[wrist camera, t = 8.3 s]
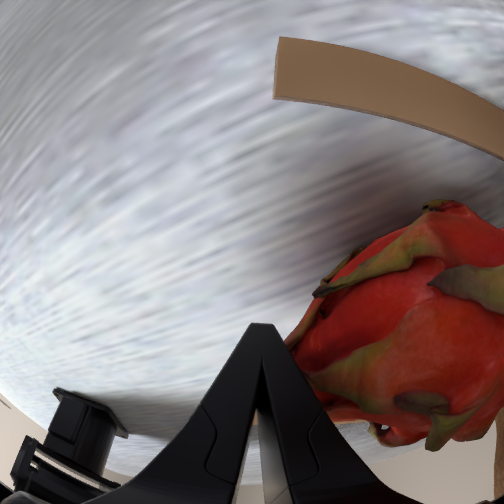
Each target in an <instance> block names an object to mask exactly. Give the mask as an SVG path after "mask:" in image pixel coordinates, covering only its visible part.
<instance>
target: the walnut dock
mask: <svg viewBox="0 0 504 504" xmlns="http://www.w3.org/2000/svg"><path fill="white" fill-rule="evenodd" d="M273 99H277V100H288V101H297V102H305V103H312V104H319V105H325V106H331V107H337V108H343V109H348V110H353V111H358V112H363V113H367V114H372V115H376V116H380V117H384V118H388V119H392V120H396V121H399V122H403V123H406V124H410V125H413V126H417V127H420V128H423V129H426V130H429V131H432V132H435V133H438V134H441V135H444V136H446V137H449V138H452V139H455V140H457V141H460V142H462V143H465V144H467V145H470V146H472V147H474V148H477V149H479V150H481V151H484V152H486V153H488V154H490V155H492V156H495V157H497V158H499V159H501V160H503V161H504V111H503V110H501V109H500V108H498V107H497V106H495V105H493V104H492V103H490V102H488V101H486V100H485V99H483V98H481V97H479V96H478V95H476V94H474V93H472V92H470V91H468V90H466V89H464V88H462V87H460V86H458V85H456V84H454V83H452V82H450V81H447V80H445V79H443V78H441V77H438V76H436V75H434V74H431V73H429V72H426V71H424V70H421V69H419V68H416V67H413V66H411V65H408V64H405V63H402V62H399V61H396V60H393V59H390V58H387V57H383V56H380V55H376V54H373V53H369V52H365V51H361V50H357V49H353V48H349V47H344V46H340V45H335V44H329V43H324V42H318V41H312V40H305V39H297V38H289V37H279V42H278V47H277V52H276V61H275V75H274V88H273ZM359 422H368V421H366V420H360V419H358V420H355V421H342V422H333V423H334V425H337V424H349V423H359ZM253 425H258V422H257V411H256V412H255V417H254V422H253Z"/></svg>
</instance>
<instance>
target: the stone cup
mask: <svg viewBox="0 0 504 504" xmlns="http://www.w3.org/2000/svg"><path fill="white" fill-rule="evenodd" d="M495 421H496V428H497V442H496V453H495V463H494V498H495V499H496V498H498V497H499V496H501V495H503V494H504V408H502V409H501V410H500V411H499V412H498V414H497V415H496V417H495Z"/></svg>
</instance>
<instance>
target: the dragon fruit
mask: <svg viewBox="0 0 504 504" xmlns="http://www.w3.org/2000/svg"><path fill="white" fill-rule="evenodd" d="M422 209H423V210H422V215H421V216H420V217H419V218H418V219H417V220H416V221H414V222H413V223H412V224H411V225H409V226H407V227H404V228H402V229H399V230H396V231H394V232H391V233H389V234H387V235H385V236H383V237H382V238H377V239H375V240H374V241H373V242H372V243H371V244H369V245H368V246H367V247H366V248H364V249H363V248H362V247H358V248H357V249H355V250H354V251H353V252H352V253H351V254H350V255H349V257H347V258H346V259H345V260H344V261H342V262H341V263H340V264H339V265H338V266H337V267H336V268H335V269H334V270H333V272H332V273H330V274H329V275H328V276H327V277H325V278H323V279H322V280H321V286H319V287H318V288H317V289H316V290H315V291H314V292H313V293H312V296H313V297H314V300H313V301H312V303H311V304H310V306H309V308H308V310H307V312H306V313H305V315H304V317H303V318H302V320H301V321H300V323H299V324H298V326H297V327H296V328H295V329H294V330H293V331H292V332H291V333H290V334H289V335H288V337H287V338H286V339H285V340H284V343H285V344H286V346H287V348H288V350H289V351H290V353H291V355H292V356H293V358H294V360H295V361H296V363H297V365H298V366H299V368H300V370H301V371H302V373H303V375H304V376H305V378H306V380H307V381H308V383H309V384H310V386H311V388H312V389H313V391H314V393H315V394H316V396H317V398H318V399H319V401H320V403H321V404H322V406H323V410H326V412H327V414H328V415H329V417H330V419H331V420H332V422H342V421H355V420H358V419H360V420H366V421H368V422H369V423H370V427H369V429H368V432H369V433H370V434H371V435H372V436H373V437H374V438H375V439H377V440H378V442H379V443H380V444H381V445H383V446H386V447H398V446H405V445H410V444H413V443H416V442H418V441H419V440H421V439H423V438H426V437H427V438H426V443H425V449H426V450H429V451H432V452H434V451H438V450H440V449H441V448H442V447H443V446H444V445H445V444H446V443H447V441H449V440H450V439H451V438H452V439H453V440H455V441H458V442H464V441H472V440H477V439H480V438H482V437H483V436H484V435H485V434H486V433H487V431H488V430H489V428H490V426H491V425H492V423H493V421H494V419H495V417H496V415H497V414H498V412H499V411H500V410H501V409H502V408H504V227H503V228H501V229H498V228H496V227H494V226H493V225H491V224H489V223H487V222H486V221H484V220H483V219H482V218H480V217H479V216H478V215H477V214H476V213H475V212H473V211H472V210H471V209H470V208H469V207H468V206H467V205H465V204H462V203H459V202H456V201H454V200H441V199H437V200H433V201H429V202H427V203H425V204H424V205H423V206H422ZM382 424H383V425H387V426H389V427H388V428H387V429H385V430H383V429H381V428H382Z"/></svg>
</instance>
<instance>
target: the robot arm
mask: <svg viewBox="0 0 504 504" xmlns="http://www.w3.org/2000/svg"><path fill="white" fill-rule="evenodd" d="M53 394H54V395H55V396H56V398H57V399H58V400H59V401H60V404H59V406H58V408H57V410H56V412H55V414H54V417H53V419H52V421H51V423H50V425H49V428H48V434H47V436H46V439H45V441H44V443H43V445H42V444H41V443H39V441H37V440H36V439H35V438H31V437H29V436H27V435H26V436H25V439H24V441H23V443H22V446H21V448H20V451H19V453H18V455H17V458H16V460H15V463H14V465H13V468H12V471H11V473H10V475H11V478H12V480H13V482H14V484H13V486H15V489H14V491H13V490H12V489H10V488H9V487H8V486H6V485H5V484H4V483H2V482H1V481H0V504H236V500H237V496H238V491H239V487H240V483H241V478H242V474H243V469H244V465H245V460H246V456H247V451H248V446H249V442H250V437H251V432H252V427H253V422H254V417H255V412H256V411H257V422H258V434H259V445H260V457H261V468H262V478H263V489H264V498H265V499H264V500H265V504H423V503H420V502H418V501H416V500H414V499H411V498H409V497H407V496H404V495H402V494H400V493H398V492H396V491H394V490H392V489H391V488H389V487H388V486H386V485H385V484H384V483H383V482H381V481H380V480H379V479H378V478H377V476H376V475H375V474H374V473H373V472H372V471H371V470H370V469H369V467H368V466H367V465H366V464H365V463H364V462H363V460H362V459H361V458H360V457H359V456H358V455H357V453H356V452H355V451H354V450H353V449H352V448H351V446H350V445H349V444H348V443H347V441H346V440H345V439H344V437H343V436H342V435H341V434H340V432H339V431H338V429H337V428H336V426H335V425H334V423H333V422H332V420H331V419H330V417H329V415H328V414H327V412H326V410H323V406H322V404H321V403H320V401H319V399H318V398H317V396H316V394H315V393H314V391H313V389H312V388H311V386H310V384H309V383H308V381H307V380H306V378H305V376H304V375H303V373H302V371H301V370H300V368H299V366H298V365H297V363H296V361H295V360H294V358H293V356H292V355H291V353H290V351H289V350H288V348H287V346H286V344H285V343H284V341H283V339H282V338H281V336H280V334H279V333H278V331H277V329H276V328H275V326H274V325H273V324H266V323H251V324H250V325H249V326H248V328H247V330H246V331H245V333H244V334H243V336H242V338H241V339H240V341H239V342H238V344H237V346H236V347H235V349H234V350H233V352H232V354H231V355H230V357H229V358H228V360H227V362H226V363H225V365H224V366H223V368H222V369H221V371H220V373H219V374H218V376H217V377H216V379H215V380H214V382H213V383H212V385H211V386H210V388H209V390H208V391H207V393H206V394H205V396H204V397H203V399H202V400H201V402H200V404H199V405H198V406H197V408H196V409H195V411H194V412H193V414H192V415H191V416H190V418H189V419H188V420H187V422H186V423H185V425H184V426H183V427H182V429H181V430H180V431H179V432H178V433H177V434H176V435H175V437H174V438H173V439H172V440H171V441H170V442H169V443H168V444H167V445H166V447H165V448H164V449H163V450H162V451H161V452H160V453H159V454H158V455H157V456H156V457H155V458H154V459H153V460H152V461H151V462H150V463H149V464H148V465H147V466H146V467H145V468H144V469H143V470H142V471H141V472H140V473H139V474H138V475H136V476H135V477H134V478H133V479H131V480H130V481H129V482H127V483H125V484H124V485H122V486H121V484H119V483H116V482H112V481H109V480H107V479H105V478H103V477H102V475H103V471H104V468H105V465H106V462H107V459H108V455H109V452H110V449H111V446H112V443H113V440H114V437H115V436H118V437H122V438H125V439H128V436H129V435H128V434H127V432H126V431H125V430H124V428H123V427H122V426H121V424H120V423H119V422H118V420H117V419H116V417H115V416H114V415H113V413H112V412H111V410H110V409H108V408H107V407H104V406H101V405H98V404H95V403H92V402H89V401H86V400H84V399H81V398H78V397H76V396H73V395H70V394H68V393H65V392H63V391H60V390H58V389H55V388H54V390H53ZM35 451H37V452H39V453H40V454H42V455H43V456H45V457H46V458H48V459H50V460H51V461H53V462H55V463H57V464H58V465H60V466H62V467H64V468H66V469H67V470H69V471H71V472H73V473H75V474H77V475H79V476H81V477H83V478H85V479H87V480H89V481H92V482H93V483H95V484H98V485H100V486H99V489H97V488H95V487H93V486H91V485H89V484H87V483H84V482H82V481H80V480H78V479H76V478H74V477H72V476H71V475H69V474H67V473H65V472H63V471H61V470H59V469H58V468H56V467H54V466H52V465H51V464H49V463H47V462H46V461H44V460H42V459H41V458H39V457H38V456H36V455H35V454H34V452H35ZM30 463H33V464H34V465H36V466H37V467H36V468H34V467H32V466H31V465H30ZM476 504H504V494H503V495H501V496H499V497H498V498H496V499H494V500H493V501H491V502H490V501H487V500H485V501H481V502H479V503H476Z"/></svg>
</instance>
